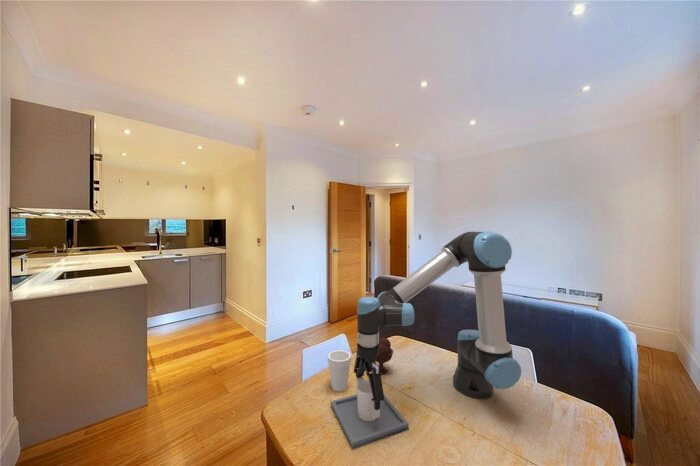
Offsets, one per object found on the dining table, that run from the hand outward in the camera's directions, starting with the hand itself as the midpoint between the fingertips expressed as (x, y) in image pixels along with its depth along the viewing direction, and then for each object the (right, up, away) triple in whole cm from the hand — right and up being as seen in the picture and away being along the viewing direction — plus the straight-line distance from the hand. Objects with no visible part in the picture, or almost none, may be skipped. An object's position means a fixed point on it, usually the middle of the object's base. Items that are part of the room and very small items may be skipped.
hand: (367, 405), depth 90 cm
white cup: (0, -3, 0) cm, 3 cm away
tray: (0, -4, 0) cm, 4 cm away
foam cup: (-10, -4, +17) cm, 21 cm away
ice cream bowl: (+8, -4, +30) cm, 31 cm away
